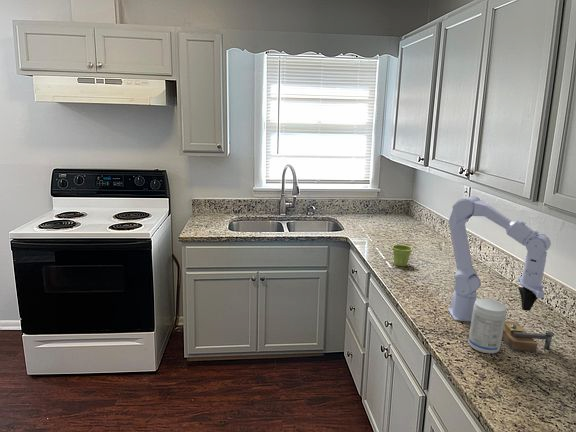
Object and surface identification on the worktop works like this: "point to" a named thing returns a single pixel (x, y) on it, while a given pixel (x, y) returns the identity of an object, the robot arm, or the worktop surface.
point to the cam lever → (537, 337)
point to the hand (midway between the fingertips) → (526, 309)
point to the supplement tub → (487, 325)
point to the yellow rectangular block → (512, 328)
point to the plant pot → (401, 254)
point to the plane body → (519, 341)
